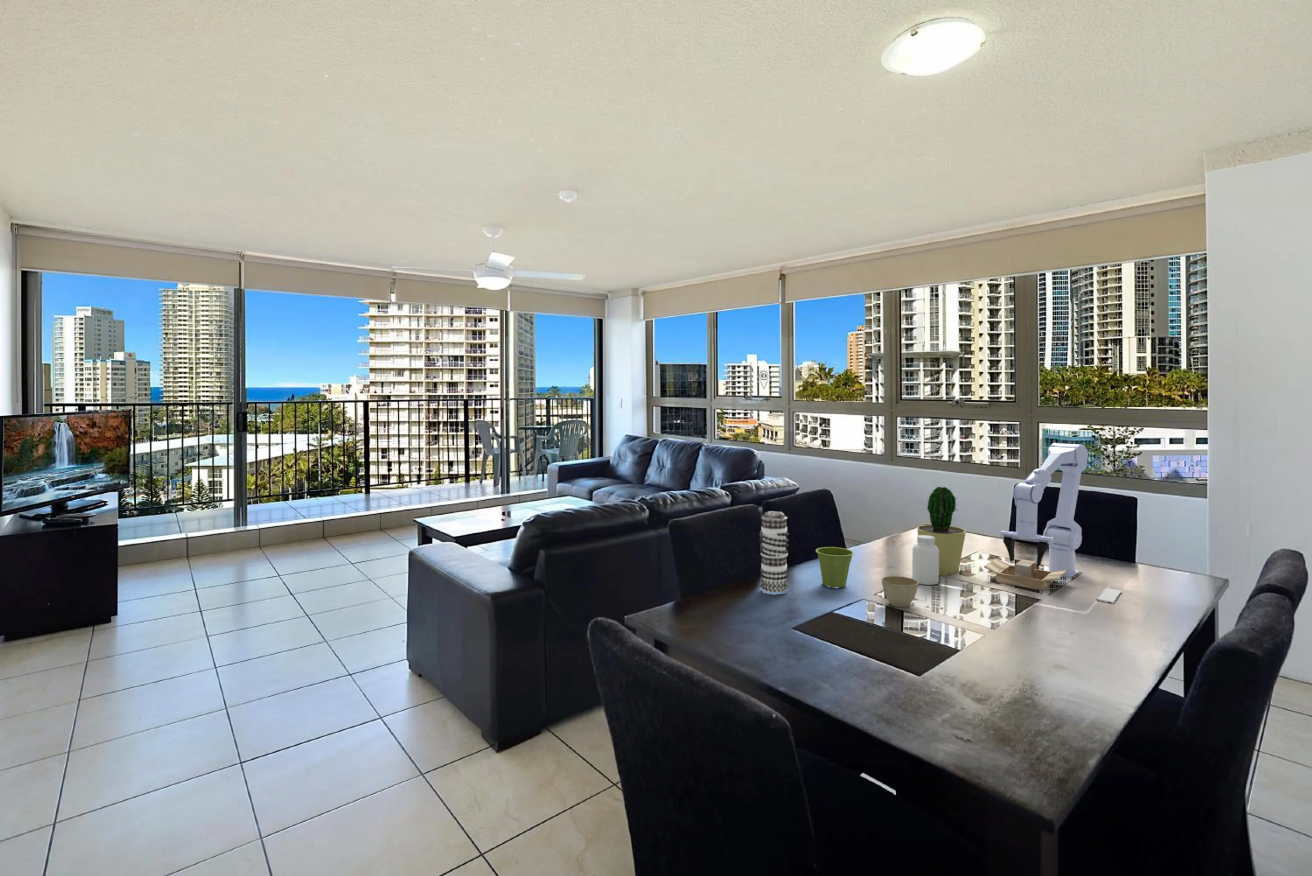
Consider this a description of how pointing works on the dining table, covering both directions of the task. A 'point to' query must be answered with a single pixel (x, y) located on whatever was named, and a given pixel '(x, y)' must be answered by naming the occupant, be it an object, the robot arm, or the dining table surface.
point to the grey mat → (1109, 595)
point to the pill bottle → (925, 561)
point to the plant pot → (834, 565)
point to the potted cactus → (944, 530)
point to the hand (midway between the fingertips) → (1025, 562)
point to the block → (1025, 569)
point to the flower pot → (899, 590)
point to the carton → (1007, 576)
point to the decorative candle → (774, 552)
